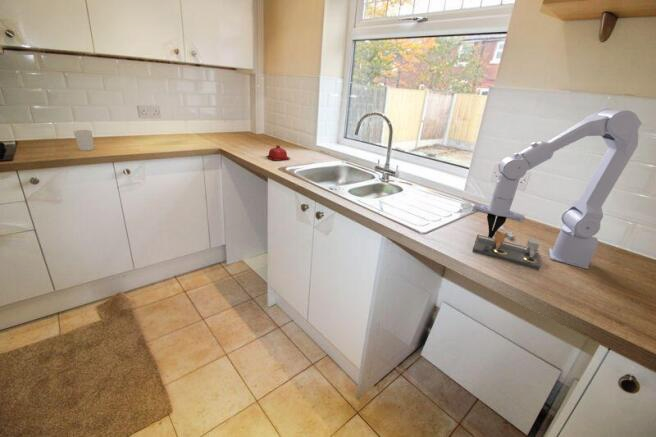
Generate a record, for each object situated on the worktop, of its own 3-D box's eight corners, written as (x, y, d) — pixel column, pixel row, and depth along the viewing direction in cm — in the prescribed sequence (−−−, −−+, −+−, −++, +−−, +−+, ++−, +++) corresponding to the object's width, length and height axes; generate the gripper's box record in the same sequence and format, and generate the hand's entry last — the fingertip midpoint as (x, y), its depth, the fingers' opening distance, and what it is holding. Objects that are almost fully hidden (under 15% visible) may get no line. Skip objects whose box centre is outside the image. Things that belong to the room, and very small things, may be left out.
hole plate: (536, 253, 100) (542, 238, 98) (538, 270, 90) (545, 254, 88) (476, 237, 108) (480, 223, 106) (472, 251, 98) (476, 235, 96)
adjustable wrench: (489, 215, 131) (491, 211, 130) (506, 218, 128) (508, 214, 128) (492, 238, 109) (494, 233, 108) (513, 243, 107) (515, 238, 106)
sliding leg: (502, 242, 102) (505, 231, 101) (501, 251, 96) (504, 240, 95) (493, 239, 103) (497, 229, 102) (492, 248, 97) (495, 237, 96)
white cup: (93, 150, 174) (89, 132, 170) (75, 150, 171) (71, 132, 167) (96, 147, 181) (93, 130, 177) (80, 147, 178) (76, 129, 174)
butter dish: (280, 156, 198) (281, 142, 195) (291, 160, 190) (291, 146, 187) (264, 157, 191) (264, 143, 188) (274, 162, 183) (274, 147, 180)
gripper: (529, 198, 97) (515, 238, 102) (478, 188, 103) (468, 226, 108) (530, 205, 91) (515, 246, 96) (476, 194, 97) (465, 233, 102)
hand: (490, 236), depth 102 cm, fingers closed
